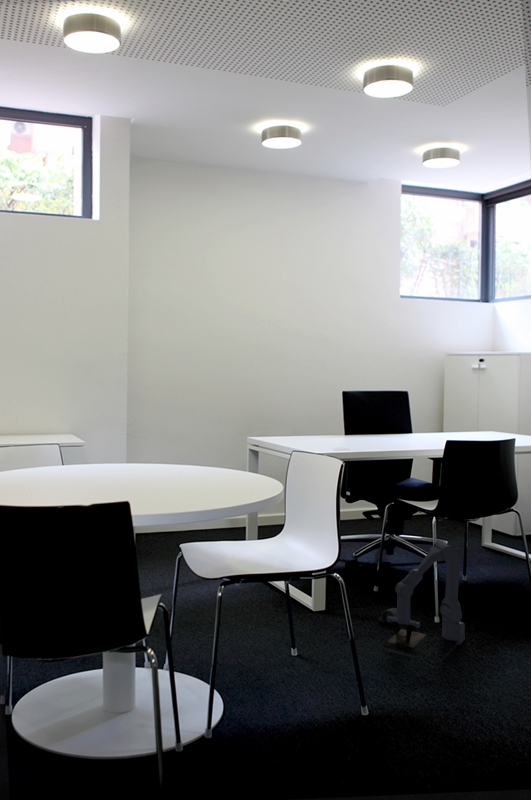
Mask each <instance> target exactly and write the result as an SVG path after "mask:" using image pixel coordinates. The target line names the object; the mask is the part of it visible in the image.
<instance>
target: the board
mask: <svg viewBox="0 0 531 800" xmlns="http://www.w3.org/2000/svg"><path fill="white" fill-rule="evenodd" d="M426 636H427V634H425V633H422V632H417V631H414V630H413V631H412V634H411V637H410V641H409V642H407V643H406V644H405V645H402V644H398V643H396V634H395V633H394V635H393V636H392V637H390V638H389V639H388V640H387V641H386V642H387V643H390V644H395V645H399V646H404V647H408V648H412V649H413V648H414V647H415V646H417V644H418V643H419V642H420V641H422V640H423V639H424V638H425V637H426Z"/></svg>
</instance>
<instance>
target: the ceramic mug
mask: <svg viewBox="0 0 531 800" xmlns="http://www.w3.org/2000/svg"><path fill="white" fill-rule="evenodd" d="M388 616H392V617H397V607H391V608H389V609H386V610H384V611H381V615H380V617H379V618H378V621H379V622H382V623H386V622H387V617H388ZM387 623H388V624H390V625H392V624H393V622H387Z"/></svg>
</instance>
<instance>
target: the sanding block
mask: <svg viewBox="0 0 531 800" xmlns="http://www.w3.org/2000/svg"><path fill="white" fill-rule="evenodd" d="M406 639H407V632H406V629H403V628H400V631H399V632H398V633H397V634H396V643H398V644H397V645H399V644H402V645H401V646H403V645H405V644H406V643H407V640H406Z"/></svg>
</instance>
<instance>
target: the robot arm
mask: <svg viewBox="0 0 531 800" xmlns="http://www.w3.org/2000/svg"><path fill="white" fill-rule="evenodd" d="M457 552H458V551H457V549H456V548H454V547H453V546H451V545H449V544H446V543H444V542H443V541H440V540H438V541H435V543H434V544H433V545H432V546H431V547H430V548H429V551H428V553H427V554H426V556H425V557H424V558H423V560H422V561H421V563H420V564H419V565H418V566H417V567H416V568H412V569H410V570H409V572H408V574H407V575H406V576H405V577H404V578H403V579H402V580H401V581H399V582H398V583H397V584H396V585H395V587H394V591H395V593H396V594H397V595H396V596H397V597H396V609H397V617H392V616H388V617H387V621H386V622H387V623H388V622H393V624H391V627H392V629H393V632H394V635H395V634H397V633H398V632H399V631H400V630H401V625H405V626H406V627H405V630H406V632H407V639H406V640H407V642H409V641H410V637H411V634H412V631H413V632H414V629H415V628H417V629H419V628H420V627H421V622H420V621H416V620H412V619H411V597H412V596H413V594H414V590H415V587H416V586H418V584H419V583H420V582H421V581H422V580H423V579H424V578H423V577H424V573H426V571H427V570H429V568H430V567H432V565H433V564H435V563H436V562H443V561H445V563H446V574H445V575H446V576H445V577H446V578H445V594H444V598H442V601H441V604H440V607H439V612H440V614H441V617H442V624H441V625H442V626H441V627H442V628H441V629H442V630H441V632H442V633H441V637H442V638H443V639H444V640H448V641H455V645H461V644H462V643H463V642H464V641H465V640H466V638H465V635H466V633H465V632H466V631H465V630H466V627H465V622H463V621H461V620H462V618H463V612H462V609H461V607H462V606H461V604H460V602H459V599H458V598H459V581H460V568H461V567H460V564H461V561H460V558H459V555H458V553H457Z"/></svg>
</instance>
